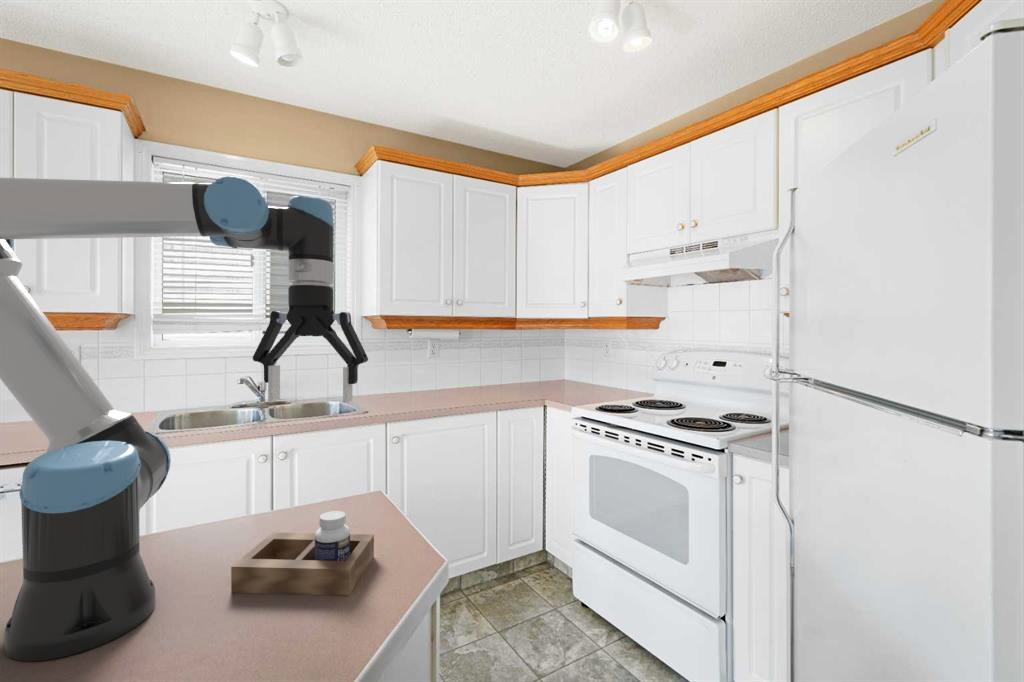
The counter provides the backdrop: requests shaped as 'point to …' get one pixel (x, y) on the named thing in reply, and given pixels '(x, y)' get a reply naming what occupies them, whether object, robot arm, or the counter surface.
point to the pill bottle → (332, 537)
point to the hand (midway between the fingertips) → (310, 401)
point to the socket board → (300, 566)
